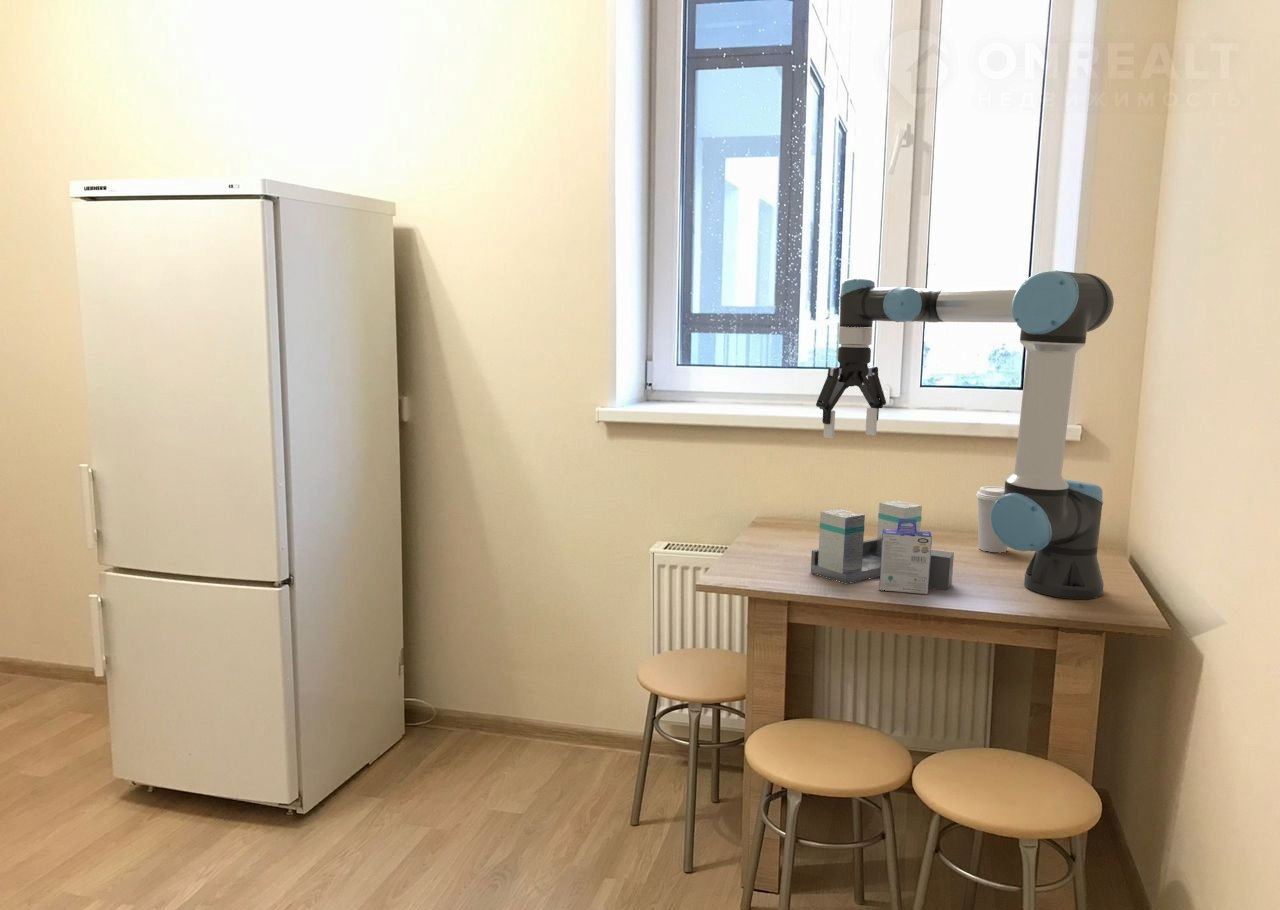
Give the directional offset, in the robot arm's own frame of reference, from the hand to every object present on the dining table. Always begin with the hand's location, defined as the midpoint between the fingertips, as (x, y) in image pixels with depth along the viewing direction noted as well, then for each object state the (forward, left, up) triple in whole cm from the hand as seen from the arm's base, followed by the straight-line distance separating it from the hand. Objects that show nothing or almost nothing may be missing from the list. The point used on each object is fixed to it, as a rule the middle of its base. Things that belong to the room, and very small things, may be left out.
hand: (849, 436), depth 225 cm
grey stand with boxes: (-16, +10, -27) cm, 33 cm away
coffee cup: (-20, -31, -28) cm, 46 cm away
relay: (-31, +7, -27) cm, 42 cm away
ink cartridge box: (-30, +15, -28) cm, 43 cm away
